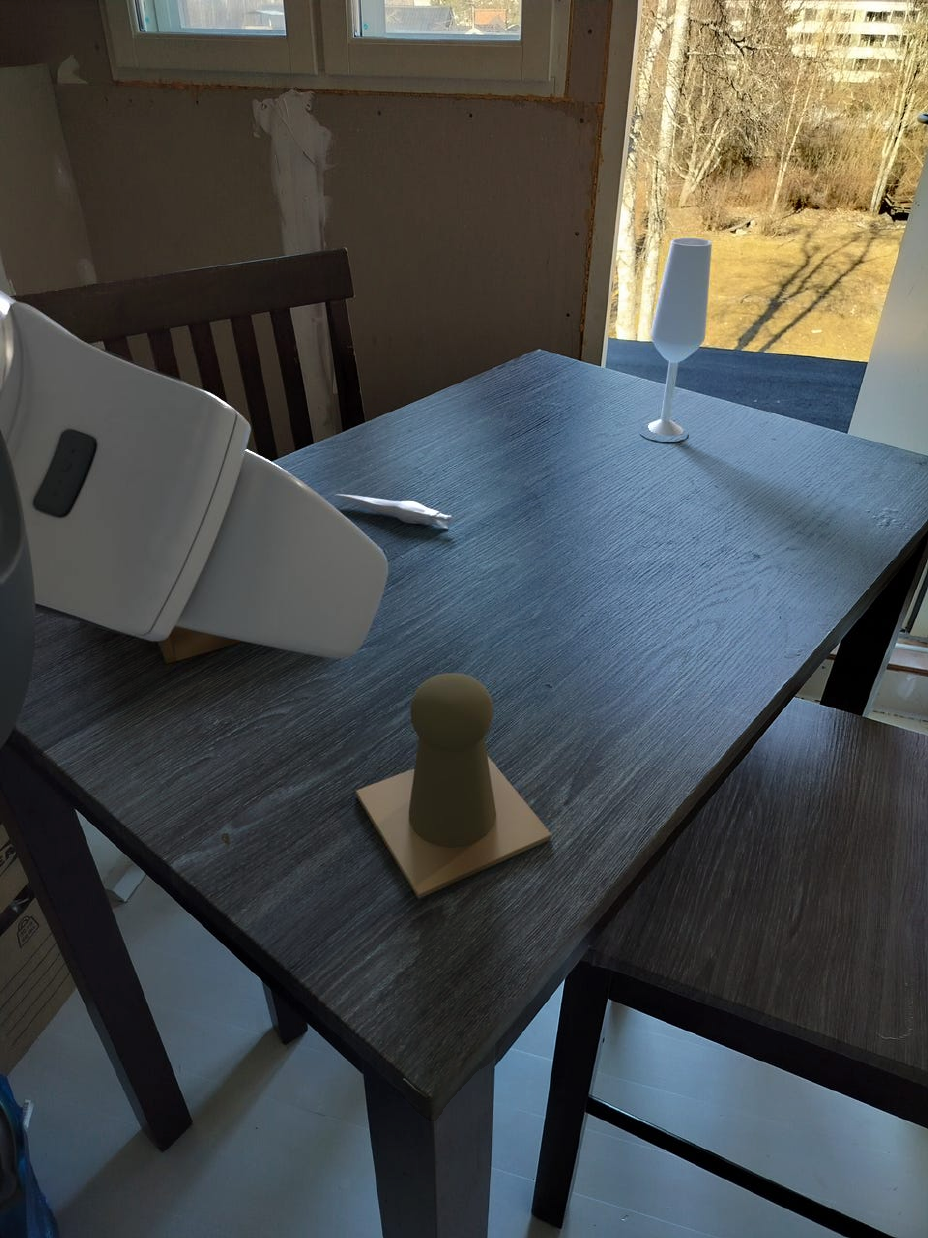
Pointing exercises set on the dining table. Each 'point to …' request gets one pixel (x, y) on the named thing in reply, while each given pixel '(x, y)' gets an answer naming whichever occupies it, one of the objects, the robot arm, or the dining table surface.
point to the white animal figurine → (400, 510)
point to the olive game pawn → (451, 761)
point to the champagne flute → (680, 315)
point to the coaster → (446, 865)
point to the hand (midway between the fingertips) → (234, 577)
